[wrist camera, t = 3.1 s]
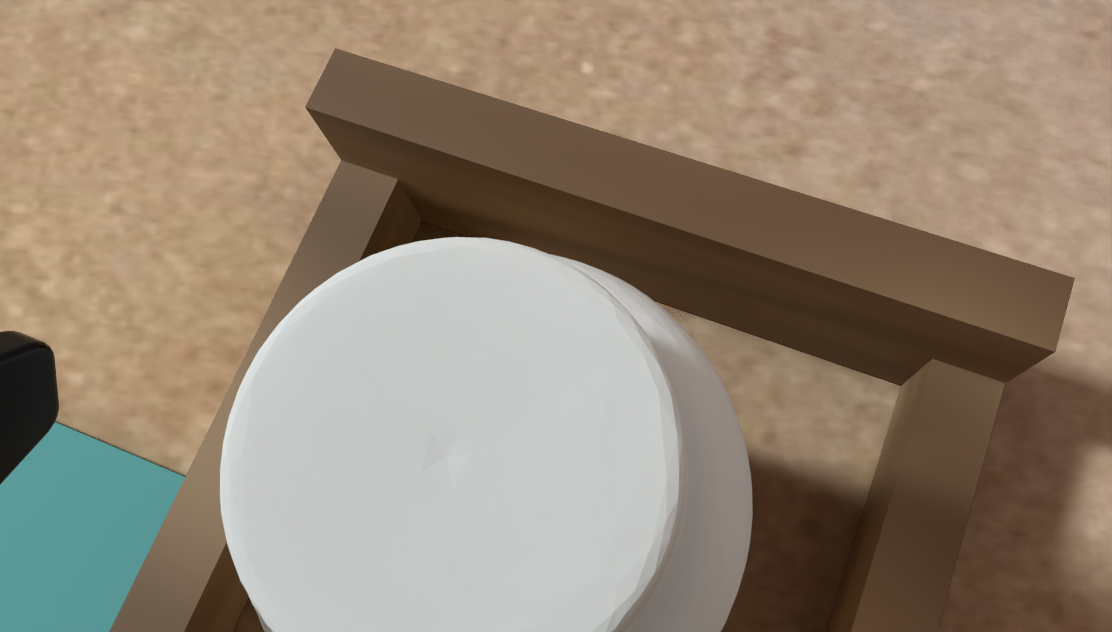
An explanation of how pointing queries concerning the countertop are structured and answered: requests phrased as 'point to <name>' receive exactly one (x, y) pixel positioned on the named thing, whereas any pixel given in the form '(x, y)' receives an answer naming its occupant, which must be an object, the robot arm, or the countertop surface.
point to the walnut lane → (670, 278)
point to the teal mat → (76, 532)
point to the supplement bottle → (484, 454)
